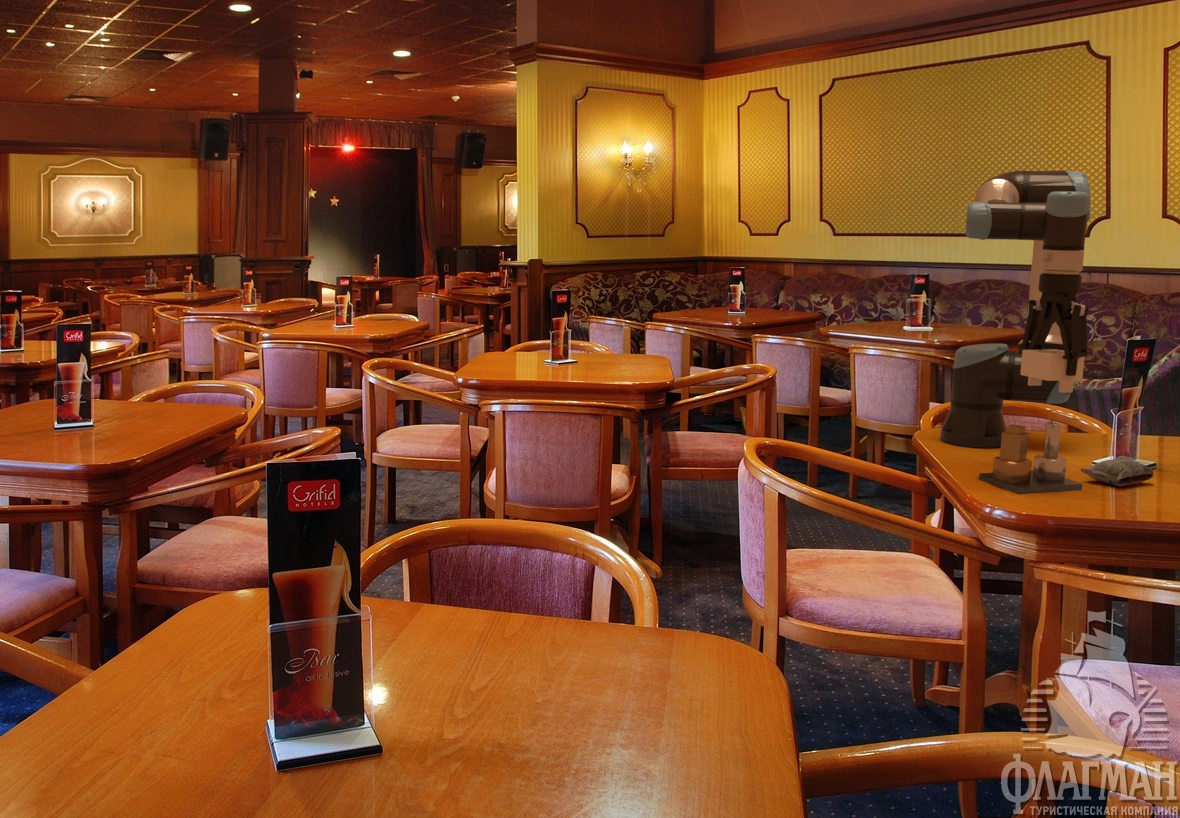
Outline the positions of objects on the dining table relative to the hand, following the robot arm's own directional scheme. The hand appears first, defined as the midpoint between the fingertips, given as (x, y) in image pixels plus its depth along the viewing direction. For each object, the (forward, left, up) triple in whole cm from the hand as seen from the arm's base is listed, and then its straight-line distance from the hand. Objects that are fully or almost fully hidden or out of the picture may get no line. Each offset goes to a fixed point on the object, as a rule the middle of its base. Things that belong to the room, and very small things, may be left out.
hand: (1049, 388), depth 213 cm
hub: (+5, -5, -18) cm, 19 cm away
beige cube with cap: (0, 0, +2) cm, 2 cm away
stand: (-2, +1, -18) cm, 18 cm away
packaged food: (-11, +12, -20) cm, 26 cm away
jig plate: (+2, -2, -19) cm, 20 cm away
